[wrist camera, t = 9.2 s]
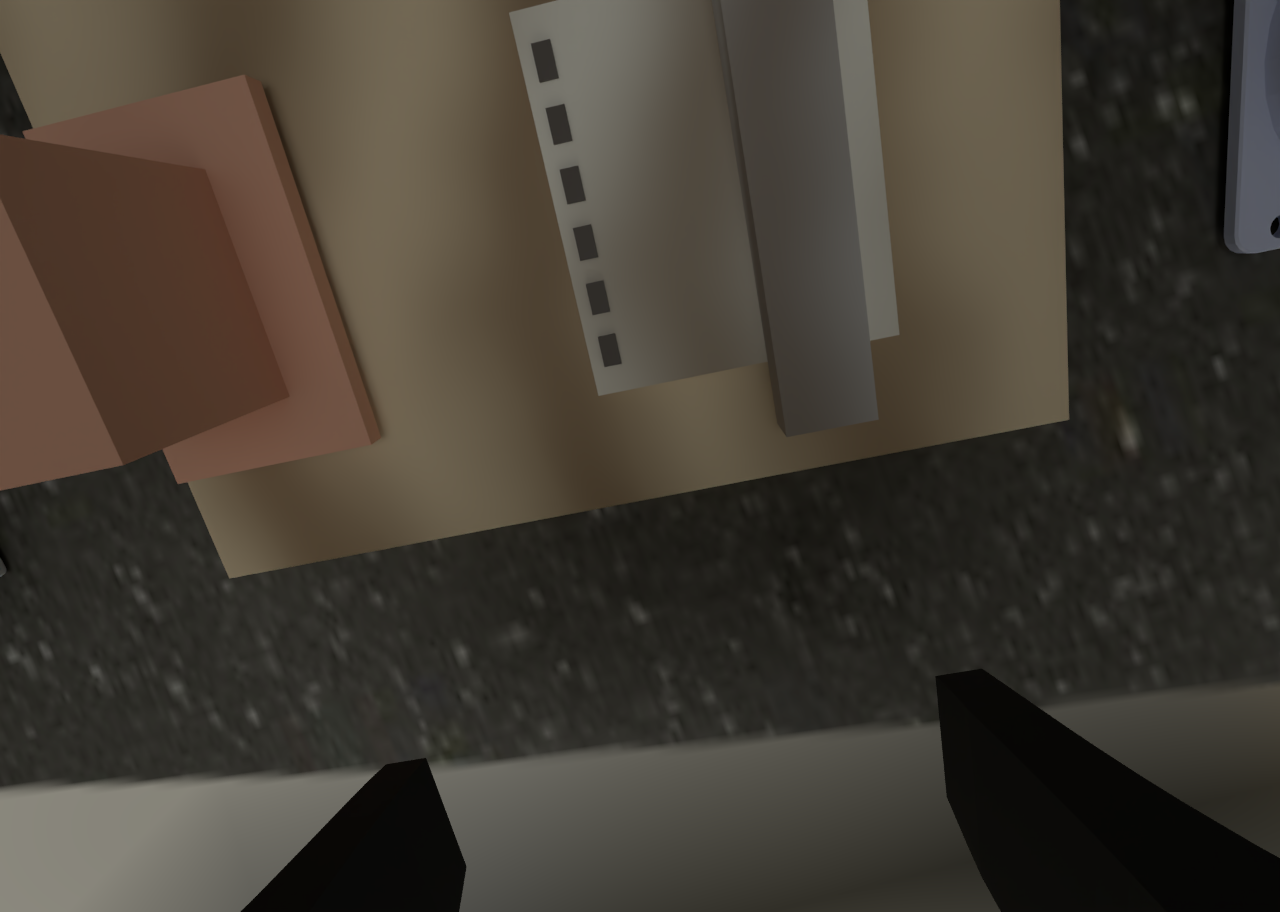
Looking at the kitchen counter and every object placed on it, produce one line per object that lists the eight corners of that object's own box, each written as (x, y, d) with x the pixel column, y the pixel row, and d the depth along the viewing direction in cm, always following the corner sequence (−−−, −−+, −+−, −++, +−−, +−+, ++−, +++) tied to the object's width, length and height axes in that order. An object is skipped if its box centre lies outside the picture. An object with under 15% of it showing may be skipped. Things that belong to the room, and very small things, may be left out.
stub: (261, 81, 14) (14, -22, 9) (381, 437, 16) (245, 532, 11) (47, 136, 15) (-315, 70, 9) (194, 475, 17) (-26, 585, 11)
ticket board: (1024, -271, 13) (1118, -403, 10) (1046, 410, 17) (1118, 440, 14) (16, 6, 15) (-123, -47, 12) (251, 561, 19) (184, 613, 16)
